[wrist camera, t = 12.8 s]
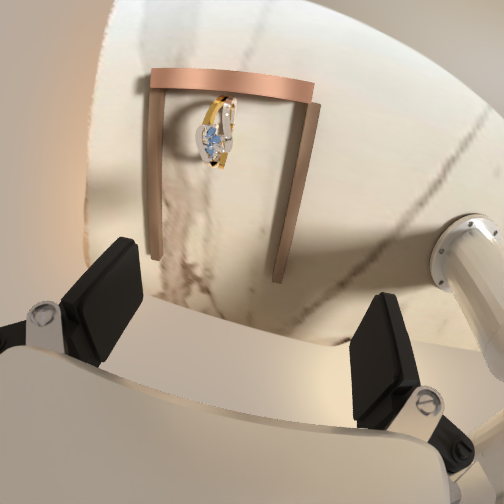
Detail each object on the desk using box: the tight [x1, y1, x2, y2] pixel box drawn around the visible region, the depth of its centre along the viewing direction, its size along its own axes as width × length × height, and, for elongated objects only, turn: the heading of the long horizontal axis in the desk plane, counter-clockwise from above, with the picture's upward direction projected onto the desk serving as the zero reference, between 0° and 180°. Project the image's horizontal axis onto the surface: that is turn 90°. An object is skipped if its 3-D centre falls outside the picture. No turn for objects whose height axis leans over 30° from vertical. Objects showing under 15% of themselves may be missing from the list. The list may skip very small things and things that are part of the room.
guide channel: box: [147, 68, 321, 283], centre depth 30 cm, size 17×24×4 cm
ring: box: [196, 95, 237, 169], centre depth 25 cm, size 7×3×8 cm, turn 166°
